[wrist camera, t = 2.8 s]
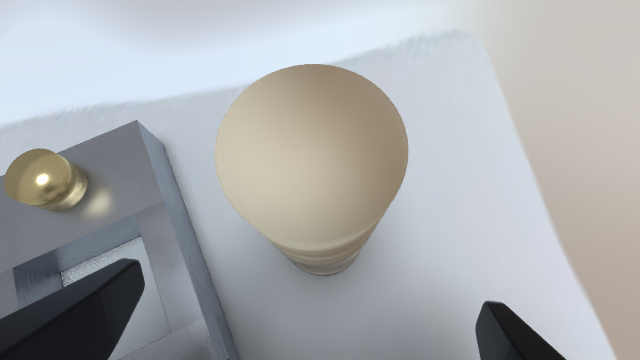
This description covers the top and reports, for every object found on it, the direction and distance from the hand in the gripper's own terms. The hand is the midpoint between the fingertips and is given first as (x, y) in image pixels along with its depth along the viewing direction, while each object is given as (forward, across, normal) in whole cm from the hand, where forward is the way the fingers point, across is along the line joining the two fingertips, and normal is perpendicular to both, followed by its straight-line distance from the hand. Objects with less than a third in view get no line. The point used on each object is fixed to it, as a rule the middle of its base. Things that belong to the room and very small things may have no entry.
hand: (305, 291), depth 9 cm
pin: (+9, 0, +5) cm, 10 cm away
